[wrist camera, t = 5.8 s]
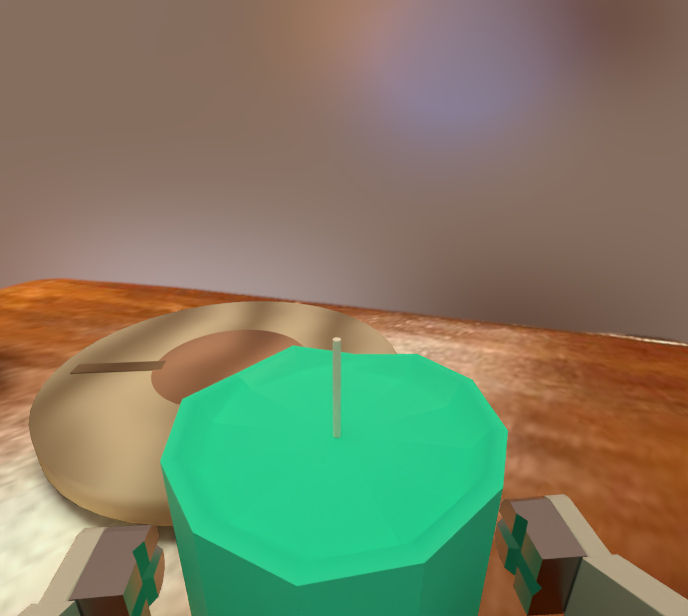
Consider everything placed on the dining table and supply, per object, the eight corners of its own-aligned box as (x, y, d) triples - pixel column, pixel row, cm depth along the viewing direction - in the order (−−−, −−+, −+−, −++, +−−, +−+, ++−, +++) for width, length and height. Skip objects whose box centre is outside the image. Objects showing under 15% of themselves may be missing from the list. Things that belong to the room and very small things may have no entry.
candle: (483, 703, 12) (571, 328, 8) (360, 1023, 8) (394, 591, 3) (325, 578, 16) (320, 266, 11) (178, 750, 11) (67, 352, 7)
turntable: (372, 314, 36) (373, 297, 35) (447, 507, 17) (451, 478, 17) (128, 322, 34) (124, 304, 33) (-81, 545, 15) (-97, 514, 15)
